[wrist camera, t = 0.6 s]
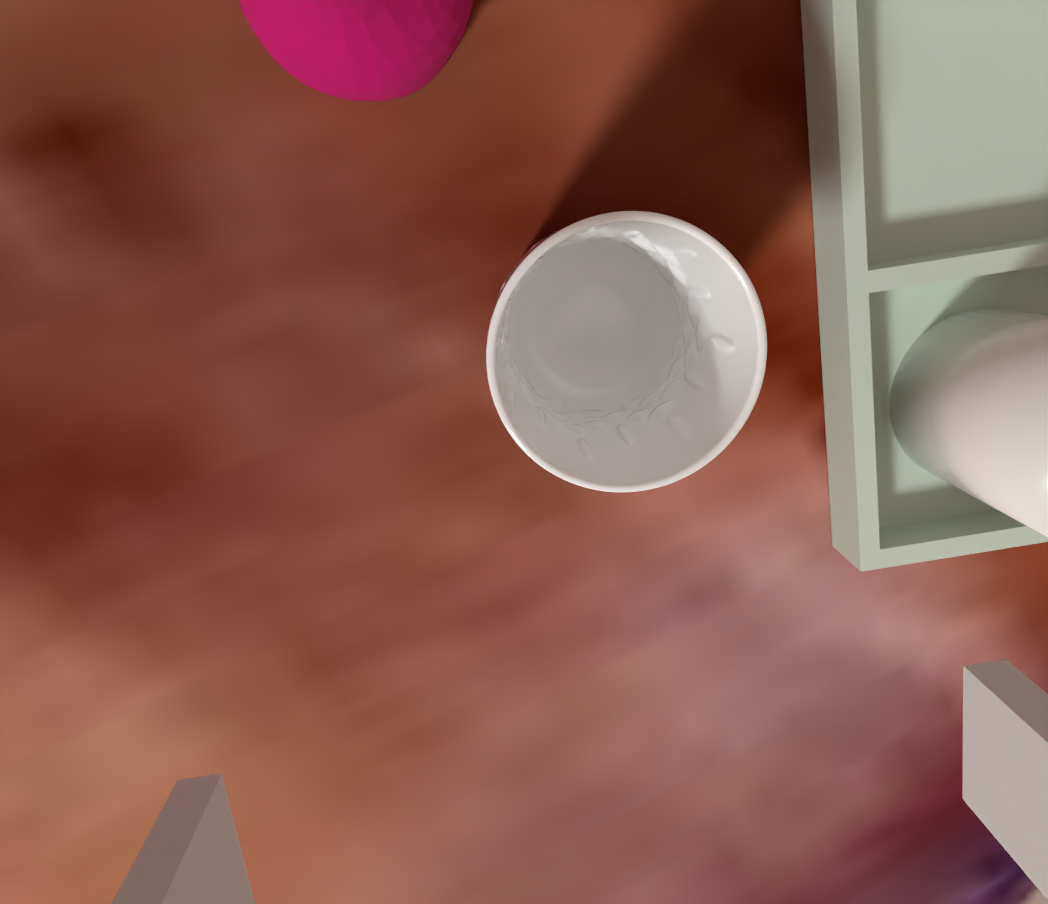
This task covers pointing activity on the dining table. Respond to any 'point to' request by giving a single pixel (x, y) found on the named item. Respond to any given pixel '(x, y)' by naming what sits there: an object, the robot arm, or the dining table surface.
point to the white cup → (626, 351)
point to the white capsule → (980, 408)
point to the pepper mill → (360, 42)
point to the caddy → (918, 235)
